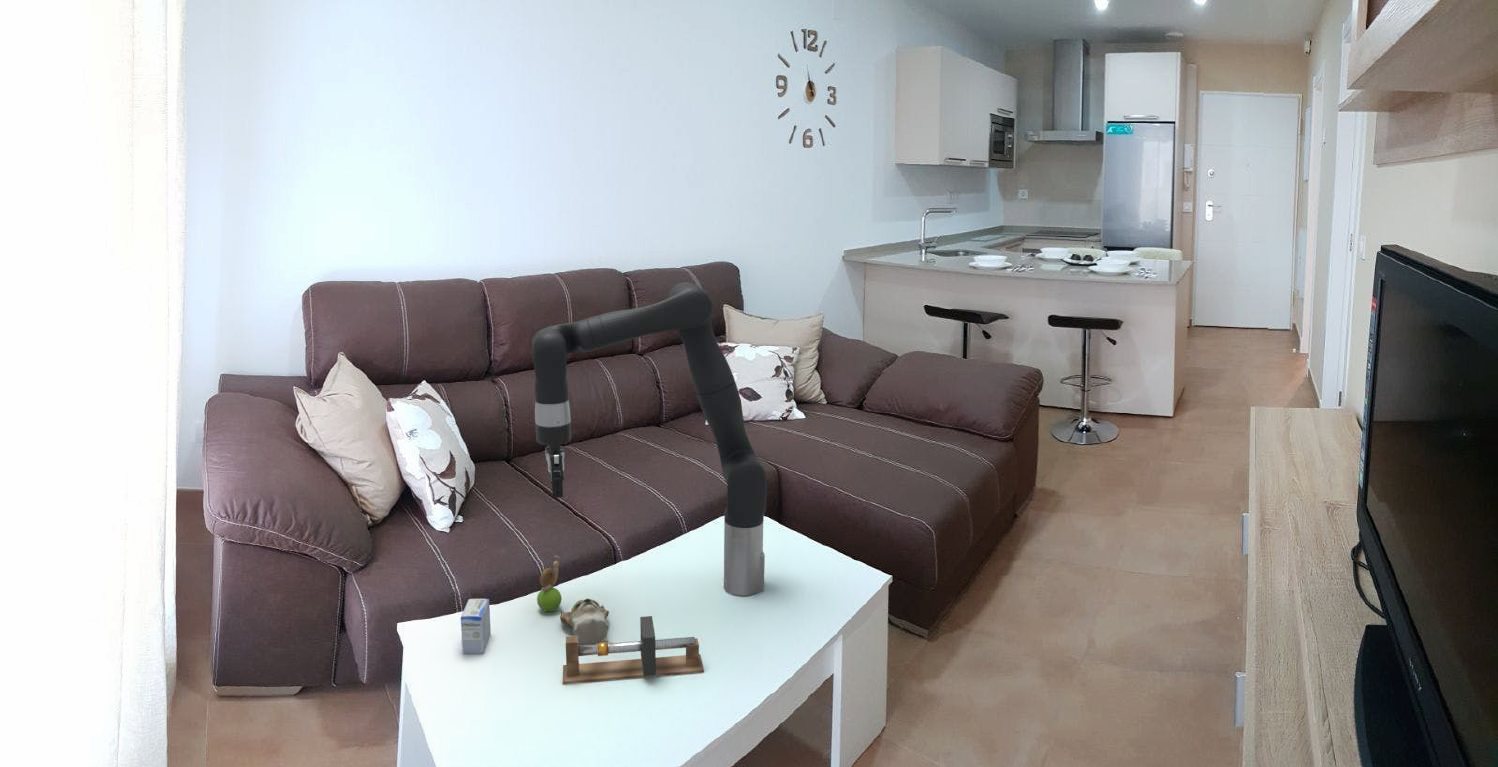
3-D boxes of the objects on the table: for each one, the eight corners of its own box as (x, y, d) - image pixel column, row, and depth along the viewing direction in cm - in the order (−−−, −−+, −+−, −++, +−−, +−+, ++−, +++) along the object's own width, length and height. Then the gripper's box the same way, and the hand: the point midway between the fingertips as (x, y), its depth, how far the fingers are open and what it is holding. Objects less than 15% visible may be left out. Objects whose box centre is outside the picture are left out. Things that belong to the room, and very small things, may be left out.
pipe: (694, 644, 192) (694, 632, 192) (695, 650, 190) (695, 639, 189) (569, 654, 188) (569, 642, 187) (569, 661, 185) (569, 649, 185)
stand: (700, 656, 195) (700, 622, 193) (703, 672, 189) (704, 636, 187) (563, 667, 190) (561, 632, 188) (562, 684, 185) (561, 648, 182)
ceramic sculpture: (567, 616, 193) (556, 587, 207) (568, 655, 195) (558, 624, 209) (618, 608, 196) (604, 581, 210) (619, 647, 198) (605, 617, 212)
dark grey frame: (652, 652, 194) (652, 616, 192) (655, 675, 186) (655, 637, 184) (640, 653, 194) (640, 616, 192) (643, 676, 186) (643, 638, 184)
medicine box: (470, 634, 202) (467, 598, 200) (491, 634, 203) (489, 597, 200) (462, 654, 195) (459, 616, 192) (484, 653, 195) (481, 616, 193)
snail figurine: (569, 605, 215) (567, 557, 212) (552, 618, 210) (550, 568, 206) (550, 600, 217) (547, 552, 214) (532, 612, 212) (530, 563, 209)
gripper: (573, 428, 198) (576, 500, 203) (568, 409, 212) (571, 477, 216) (536, 431, 197) (540, 503, 201) (534, 412, 210) (538, 480, 214)
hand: (556, 489), depth 208 cm, fingers open, 8 cm apart
